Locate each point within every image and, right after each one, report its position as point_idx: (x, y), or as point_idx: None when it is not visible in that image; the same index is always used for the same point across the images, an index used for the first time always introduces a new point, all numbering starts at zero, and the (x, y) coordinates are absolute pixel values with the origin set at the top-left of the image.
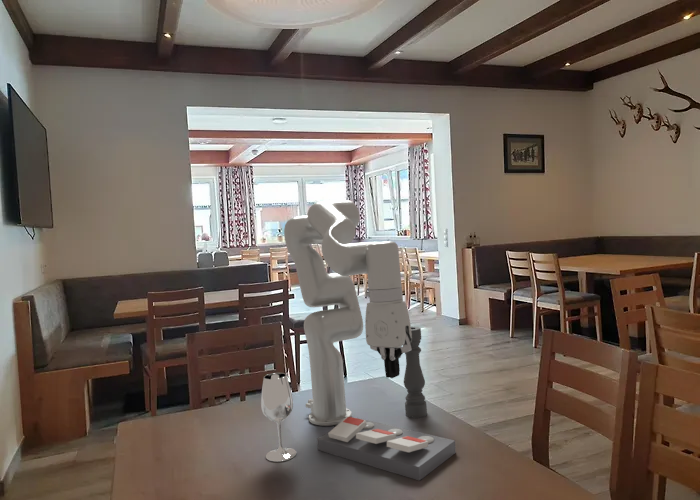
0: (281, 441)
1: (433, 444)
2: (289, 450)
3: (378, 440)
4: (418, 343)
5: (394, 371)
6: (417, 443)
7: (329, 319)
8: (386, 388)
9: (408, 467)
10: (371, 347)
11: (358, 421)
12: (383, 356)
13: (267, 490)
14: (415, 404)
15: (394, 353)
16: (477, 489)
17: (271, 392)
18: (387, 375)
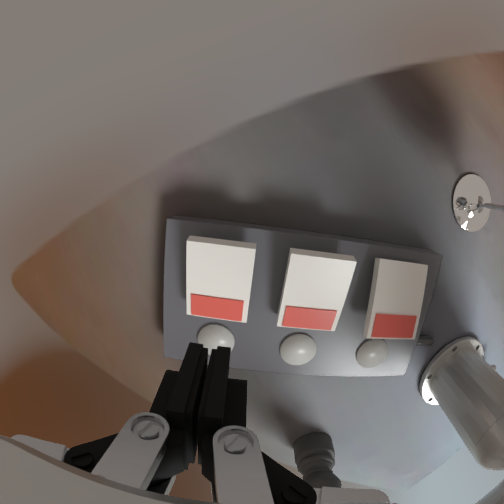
0: (487, 207)
1: (191, 328)
2: (468, 218)
3: (288, 259)
4: None
5: (173, 375)
6: (191, 282)
7: None
8: (390, 477)
9: (194, 220)
10: (376, 499)
11: (382, 327)
12: (236, 447)
13: (414, 77)
14: (310, 453)
15: (110, 449)
16: (85, 232)
17: None
18: (216, 350)
